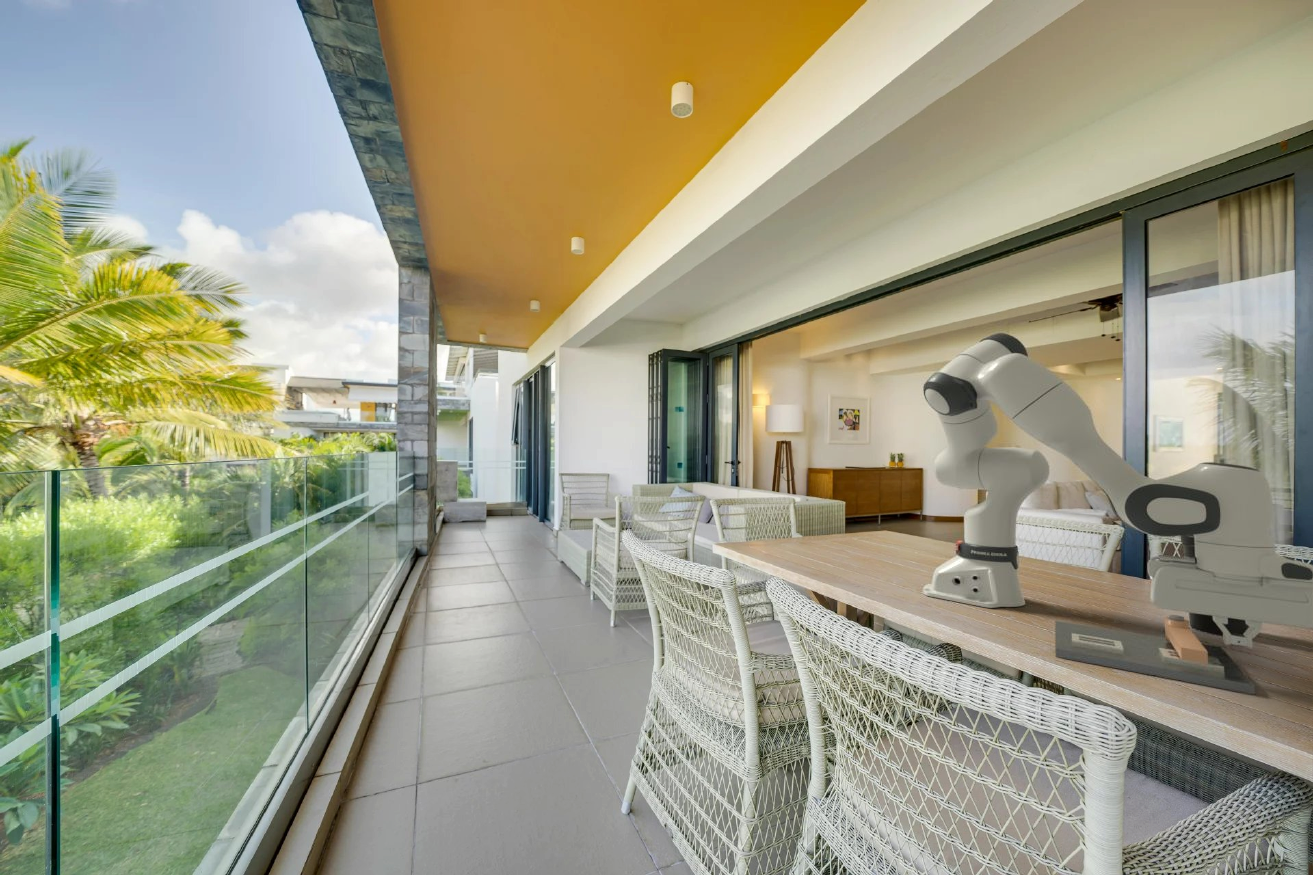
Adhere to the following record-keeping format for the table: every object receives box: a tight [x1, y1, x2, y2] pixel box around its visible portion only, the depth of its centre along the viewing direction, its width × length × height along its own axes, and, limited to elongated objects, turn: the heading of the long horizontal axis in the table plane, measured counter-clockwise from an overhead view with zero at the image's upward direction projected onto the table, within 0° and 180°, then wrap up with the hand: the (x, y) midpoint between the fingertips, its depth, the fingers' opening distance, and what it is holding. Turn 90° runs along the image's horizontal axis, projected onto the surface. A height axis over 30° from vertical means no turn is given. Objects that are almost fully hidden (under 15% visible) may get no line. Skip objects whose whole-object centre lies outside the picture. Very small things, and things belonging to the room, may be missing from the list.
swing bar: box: [1164, 614, 1208, 664], centre depth 89 cm, size 17×3×5 cm, turn 142°
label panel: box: [1054, 620, 1256, 696], centre depth 93 cm, size 24×20×3 cm
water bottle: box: [1180, 535, 1249, 637], centre depth 107 cm, size 10×10×23 cm
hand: (1237, 645), depth 83 cm, fingers closed
